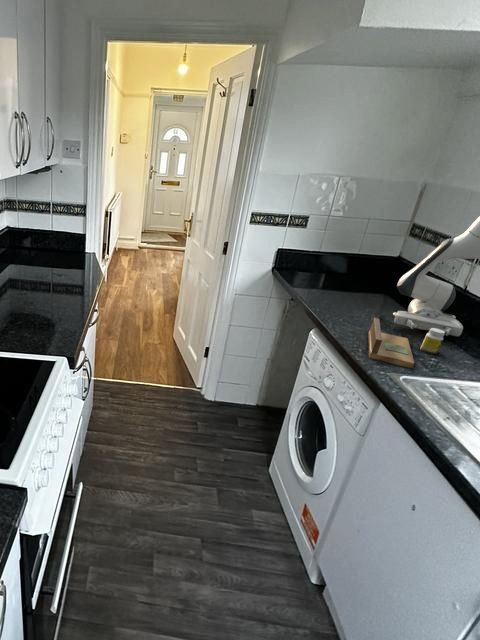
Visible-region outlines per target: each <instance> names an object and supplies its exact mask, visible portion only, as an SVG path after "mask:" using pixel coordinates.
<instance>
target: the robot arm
mask: <svg viewBox="0 0 480 640" xmlns="http://www.w3.org/2000/svg"><path fill="white" fill-rule="evenodd" d="M450 259H465V260H466V259H467V260H476V259H477V260H478V259H480V215H479V216H478V217H477V218H476V219H475V220H474V221H473V222H472V223H471V225H470V226H469V227H468V228H467V229H466V230H465V231H464V232H463V233H461V234H460V235H457V236H456V237H452V238H446V239H445V240H443V241H442V242H441V243H439V244H438V245H437V246H436V247H434V248H433V249H432V250H431V251H430V252H429V253H428V254H427V255H425V257H423V258H422V260H420V261H419V262H418V263H417V264H416V265H415V266H413V267H412V268H411V269H410V270H408V271H407V272H406V273H404V274H403V275H402V276H401V277H400V278H399V280H398V282H397V284H396V287H397V291H398V292H399V294H400V295H402V296H406V297H409V298H413V299H411V302H410V303H409V305H408V307H407V311H405V310H397V312H396V311H394V312H393V313H392V315H393V316H394V320H393V322H394V324H397V325H401V326H405V327H408V328H410V329H412V330H416V329H417V330H420V331H428V332H429V331H430V329H431V328H437V329H440V330H443V331H444V332H445V334H444V336H445V337H448V336H453V337H460V336H461V335H462V333H463V330H464V326H463V324H462V323H461V322H460V321H459V320H458V319H456V315H453V314H450V313H447V312H445V311H447V309H449V308H450V306H451V305H452V304H453V303H454V301H455V299H456V296H457V295H456V294H457V293H456V288H455V286H454V284H451V283H449V282H446V281H443V280H440V279H437V278H435V277H432V276H429V275H427V273H428V272H429V271H431V270H432V269H433V268H434V267H435V266H436V265H438V264H439V263H440V262H442V261H445V260H450Z"/></svg>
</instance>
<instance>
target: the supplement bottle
mask: <svg viewBox="0 0 480 640" xmlns="http://www.w3.org/2000/svg"><path fill="white" fill-rule="evenodd" d="M444 334H445V332H444V331H443V330H440V329H437V328H431V329H430V331H429V330H428V332H427V333H426V335H425V337H424V339H423V341H422V343H421V346H420V347H419V349H420V350H421V351H423V352H424V353H427V354H432V355H435V354H438V351H439V350H440V347H441V345H442V343H443V341H444V336H445V335H444Z"/></svg>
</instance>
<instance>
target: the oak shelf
mask: <svg viewBox="0 0 480 640" xmlns="http://www.w3.org/2000/svg"><path fill="white" fill-rule="evenodd" d="M367 339H368V358H370V359H374V360H377V361H380V362H381V361H382V362H385V363H389V364H393V365H396V366H399V367H400V366H401V367H405V368H408V369H413V368H414V366H415V360H414V356H413V352H412V348H411V345H410V342H409V341H410V340H409V338H408V337H403V336H398V335H394V334H389V333H386V332H382V330H381V322H380V318H378V317H373V320H372V323H371V326H370V328H369V330H368V333H367Z"/></svg>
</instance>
